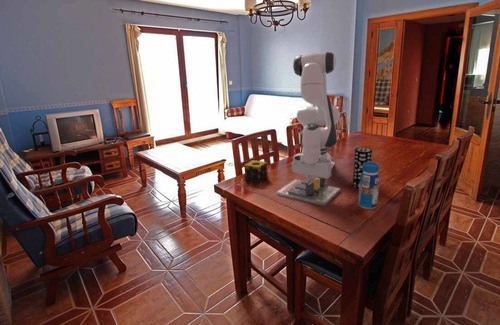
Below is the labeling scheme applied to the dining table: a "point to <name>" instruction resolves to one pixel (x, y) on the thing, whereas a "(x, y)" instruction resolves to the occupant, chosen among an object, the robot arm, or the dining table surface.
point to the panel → (318, 197)
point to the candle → (256, 171)
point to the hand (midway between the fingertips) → (310, 183)
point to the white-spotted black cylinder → (360, 163)
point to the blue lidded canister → (369, 186)
